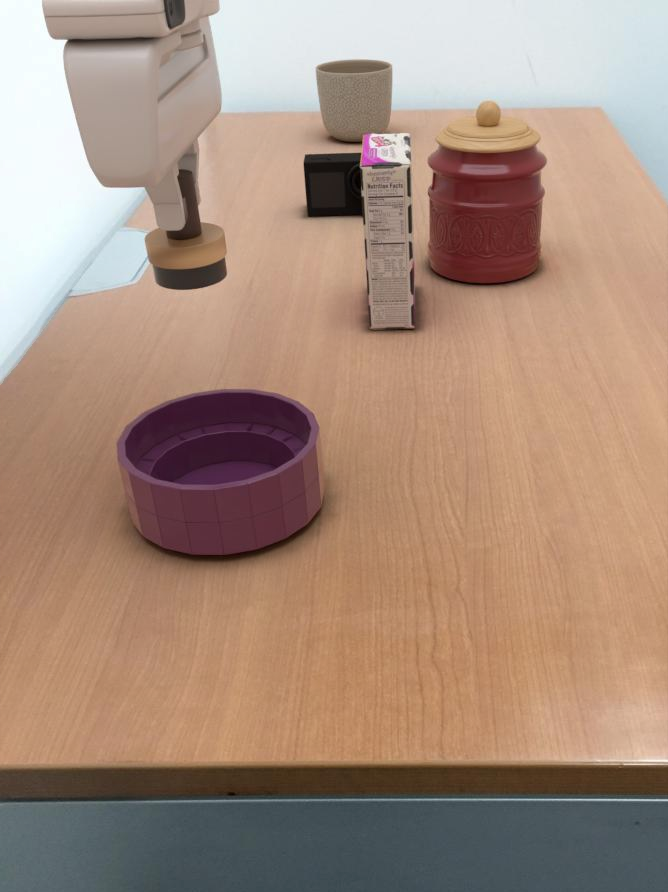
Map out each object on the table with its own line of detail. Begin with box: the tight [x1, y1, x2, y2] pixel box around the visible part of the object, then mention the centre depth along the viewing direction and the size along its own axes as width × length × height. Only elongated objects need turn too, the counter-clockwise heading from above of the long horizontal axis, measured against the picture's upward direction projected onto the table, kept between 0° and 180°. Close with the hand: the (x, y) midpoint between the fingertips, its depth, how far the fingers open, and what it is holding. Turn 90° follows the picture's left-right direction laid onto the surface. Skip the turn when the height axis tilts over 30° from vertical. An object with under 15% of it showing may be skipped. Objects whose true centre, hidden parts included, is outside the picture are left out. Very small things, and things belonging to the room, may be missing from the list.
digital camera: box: [303, 152, 363, 217], centre depth 126 cm, size 10×5×7 cm, turn 92°
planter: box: [315, 58, 393, 143], centre depth 157 cm, size 12×12×11 cm
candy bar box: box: [360, 132, 416, 331], centre depth 96 cm, size 11×5×16 cm, turn 0°
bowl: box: [115, 388, 326, 556], centre depth 70 cm, size 14×14×6 cm
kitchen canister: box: [427, 100, 548, 284], centre depth 106 cm, size 13×13×18 cm
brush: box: [144, 169, 228, 291], centre depth 65 cm, size 5×5×7 cm
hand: (180, 218), depth 65 cm, fingers closed on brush, 2 cm apart
